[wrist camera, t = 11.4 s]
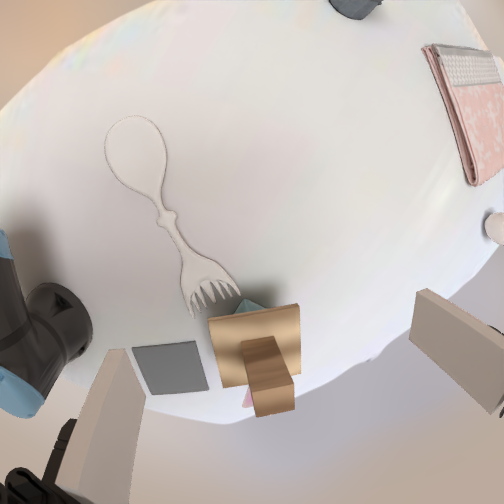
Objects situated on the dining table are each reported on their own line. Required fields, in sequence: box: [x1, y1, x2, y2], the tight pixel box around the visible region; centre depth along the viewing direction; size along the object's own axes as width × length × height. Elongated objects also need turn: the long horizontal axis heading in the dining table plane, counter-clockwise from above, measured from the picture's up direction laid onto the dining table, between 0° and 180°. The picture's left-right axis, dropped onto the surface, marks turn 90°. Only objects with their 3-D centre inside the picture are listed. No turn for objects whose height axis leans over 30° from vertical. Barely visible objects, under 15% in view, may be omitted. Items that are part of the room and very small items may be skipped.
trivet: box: [132, 341, 209, 395], centre depth 46 cm, size 12×12×1 cm
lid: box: [208, 303, 301, 417], centre depth 32 cm, size 12×12×11 cm
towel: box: [421, 43, 504, 187], centre depth 39 cm, size 36×34×6 cm
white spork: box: [105, 116, 241, 318], centre depth 37 cm, size 9×32×3 cm, turn 26°
